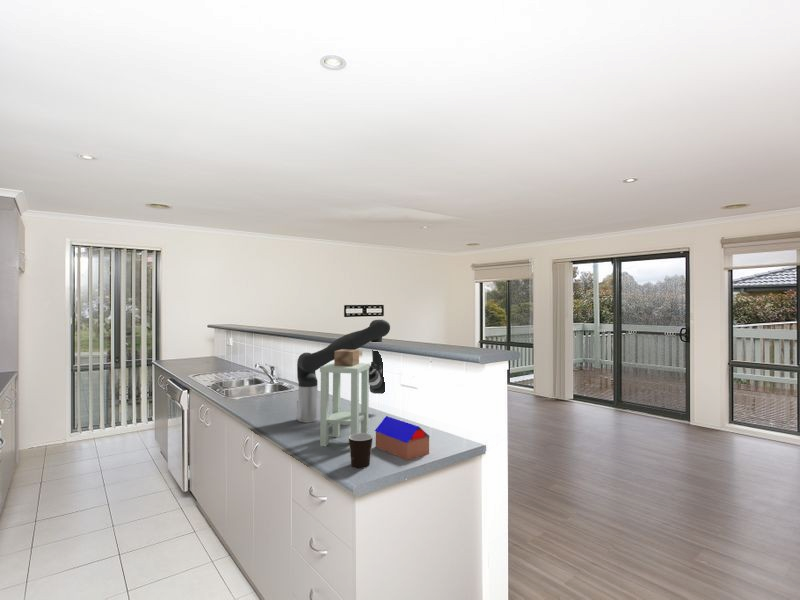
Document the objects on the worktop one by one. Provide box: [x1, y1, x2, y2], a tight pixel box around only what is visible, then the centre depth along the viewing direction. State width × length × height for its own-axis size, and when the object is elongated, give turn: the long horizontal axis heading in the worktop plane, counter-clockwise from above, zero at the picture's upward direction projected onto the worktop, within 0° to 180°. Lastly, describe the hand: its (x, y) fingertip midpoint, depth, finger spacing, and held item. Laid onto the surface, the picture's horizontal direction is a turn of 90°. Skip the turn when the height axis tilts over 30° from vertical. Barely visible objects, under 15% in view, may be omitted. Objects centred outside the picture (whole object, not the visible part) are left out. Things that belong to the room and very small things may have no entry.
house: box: [374, 415, 430, 461], centre depth 169 cm, size 12×20×12 cm, turn 40°
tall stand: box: [319, 362, 371, 448], centre depth 178 cm, size 16×16×32 cm
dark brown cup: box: [348, 432, 374, 469], centre depth 154 cm, size 12×9×10 cm
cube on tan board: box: [333, 349, 363, 366], centre depth 186 cm, size 8×20×6 cm, turn 167°
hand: (363, 363), depth 201 cm, fingers open, 8 cm apart
